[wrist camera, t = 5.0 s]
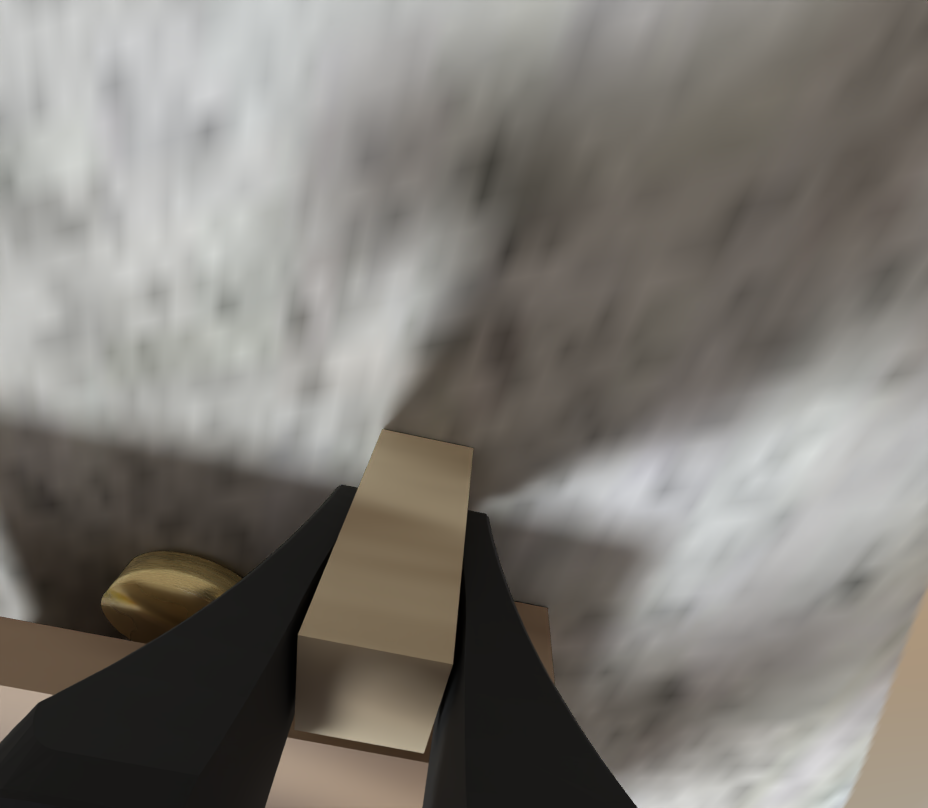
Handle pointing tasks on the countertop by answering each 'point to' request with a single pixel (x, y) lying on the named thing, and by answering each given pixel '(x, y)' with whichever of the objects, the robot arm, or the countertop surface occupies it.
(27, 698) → the low wooden bench
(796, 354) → the countertop surface
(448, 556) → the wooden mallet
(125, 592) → the brass disc
